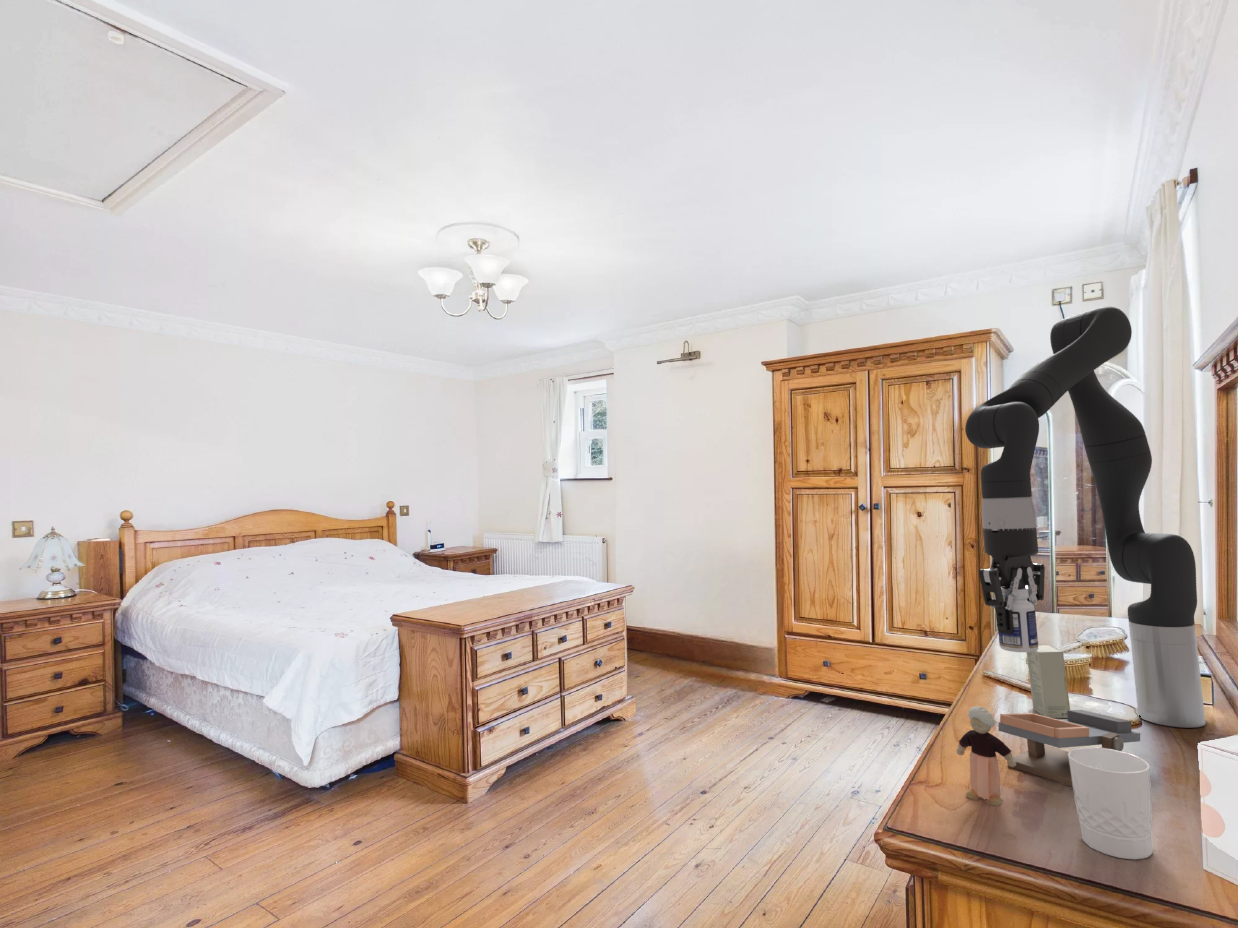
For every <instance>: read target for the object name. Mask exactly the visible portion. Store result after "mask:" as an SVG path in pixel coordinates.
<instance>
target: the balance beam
mask: <svg viewBox="0 0 1238 928" xmlns="http://www.w3.org/2000/svg"><path fill="white" fill-rule="evenodd" d="M997 730H998V731H999V732H1000V733H1001V732H1002V733H1005V734H1009V735H1013V736H1016V737H1019V738H1023V739H1026V740H1027V739H1029V740H1033V741H1036V742H1040V743H1043V744H1044V745H1047V746H1050V747H1054V748H1057V749H1063V748H1064V749H1066V748H1075V747H1076V748H1079V747H1091V746H1102V743H1101V736H1102V735H1104V734H1107V733H1109V732H1110V733H1114V734H1118V735H1119V738H1121V739H1122V740H1123V743H1124V744H1126V743H1137V742H1141V732H1137V731H1132V721H1131V720H1127V719H1123V718H1119V717H1115V716H1111V715H1106V714H1102V713H1097V712H1094V711H1093V712H1092V711H1088V710H1086V709H1085V710H1083V709H1070V710H1067V718H1060V719H1058V718H1049V717H1045V716H1043V715H1042V716H1041V714H1038V715H1037V713H1031V712H1028V713H1027V712H1022V713H1000V714H999V721H998V729H997Z"/></svg>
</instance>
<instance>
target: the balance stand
mask: <svg viewBox="0 0 1238 928" xmlns="http://www.w3.org/2000/svg"><path fill="white" fill-rule="evenodd" d="M1036 714H1037V713H1036ZM1037 715H1039V714H1037ZM1040 715H1041V714H1040ZM1041 716H1043V715H1041ZM1026 742H1027V750H1026V751H1024V752H1021V753H1019V754H1016V755H1014V756H1013V759H1014V761H1015V762H1016V766H1015V767H1012V769H1013V768H1014V769H1015V770H1019V771H1020V770H1021V771H1023V772H1026V773H1029V774H1032V775H1035V776H1039V777H1042V778H1044V779H1048V780H1051V781H1053V782H1056V783H1060V784H1062V785H1066V786H1069V787H1072V788H1073V785H1072V779H1071V772H1070V765H1069V759H1068V752H1069V751H1066V750H1063V749H1062V748H1057V747H1054V746H1050V745H1047V744H1043V743H1040V742H1036V741H1033V740H1029V739H1026ZM1101 743H1102V745H1101V748H1107V749H1113V750H1118V751H1122V752H1123V749H1124V746H1125V745H1124V744H1125V743H1123V740H1122V739H1121V738H1119V735H1118V734H1114V733H1110V732H1109V733H1107V734H1104V735H1102V736H1101ZM1007 766H1008V767H1010V766H1009V765H1008V764H1007Z"/></svg>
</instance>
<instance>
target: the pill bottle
mask: <svg viewBox="0 0 1238 928" xmlns="http://www.w3.org/2000/svg"><path fill="white" fill-rule="evenodd" d="M1001 589H1003V588H1002V587H1001ZM1028 596H1029V594H1028V589H1027V588H1018V590H1017V595H1016V596H1015V597H1013V601H1012V607H1011V610H1012V615H1013V627H1014V632H1013V633H1012V634H1005V633H1000V632H999V631H998V630H997V632H998V643H999V644H998V645H999V647H1000V649H1001V650H1004V651H1008V652H1013V653H1026V652H1035V651H1037V650H1038V645H1039V638H1038V627H1037V617H1036V615H1035V613H1036V606H1035V607H1034V605H1033V604H1032V603H1031V602H1029V601H1027V598H1029V597H1028ZM1005 597H1006V596H1005V595H1003V599H1004V601H1005Z"/></svg>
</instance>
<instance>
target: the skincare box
mask: <svg viewBox="0 0 1238 928" xmlns="http://www.w3.org/2000/svg"><path fill="white" fill-rule="evenodd" d="M1025 653H1026V660H1027V661H1026V662H1027V669H1028V677H1029V685H1030V694H1031V700H1032V701H1031V702H1032V709H1033V710H1034V711H1036V712H1037V713H1039V715H1042V716H1045V717H1049V718H1053V719H1067V710H1071V706H1070V705H1071V704H1070V699H1069V690H1068V682H1067V674H1066V666H1065V658H1064V656H1065V655H1064V651H1063V650H1061V649H1058V648H1056V647H1054V646H1052V645H1049V644H1046V645H1045V644H1044V645H1042V644H1041V645H1039V644H1038V650H1037V651H1035V652H1025Z"/></svg>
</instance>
